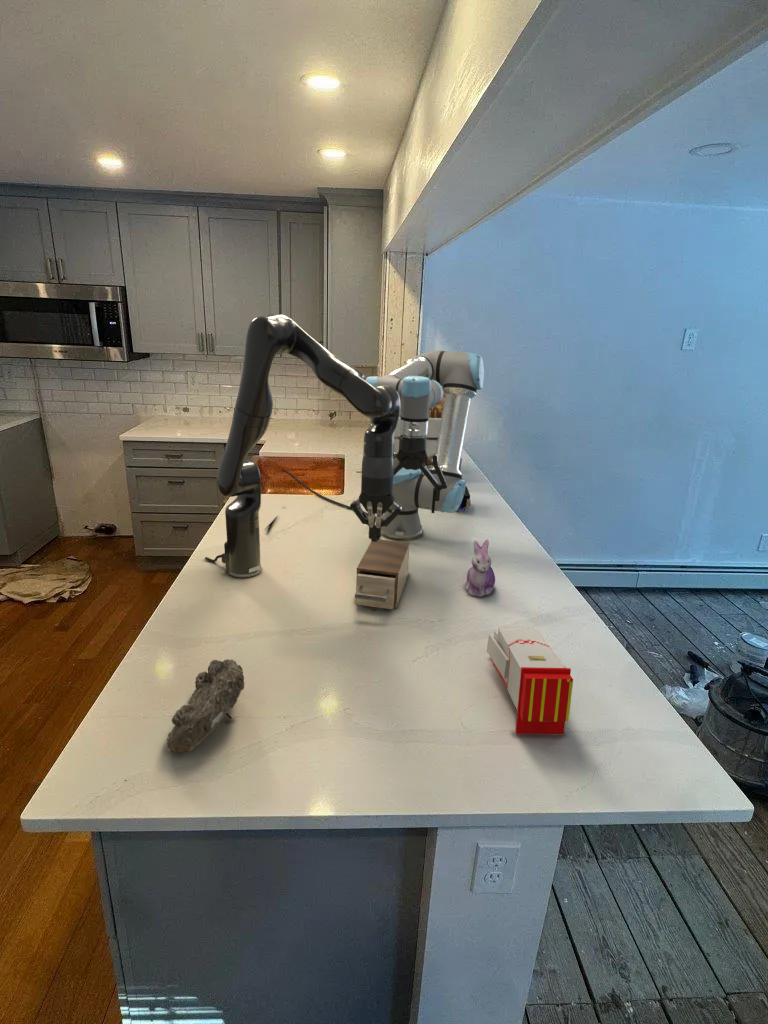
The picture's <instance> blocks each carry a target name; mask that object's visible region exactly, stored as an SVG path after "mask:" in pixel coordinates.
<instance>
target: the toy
mask: <svg viewBox="0 0 768 1024" xmlns="http://www.w3.org/2000/svg"><path fill="white" fill-rule="evenodd" d="M493 633H494V634H492V633H488V638H487V645H486V653H487V654H488V656H489V658H490V661H491V662H492V664H493V666H494V667H495V669H496V671H497V673H498V675H499V676H500V678H501V680H502V683H503V684H504V686H505V688H506V689H507V692H508V694H509V696H510V698H511V701H512V702H513V705H514V706H515V709H516V721H515V734H516V735H557V736H558V735H563V736H565V727H566V723H569V721H570V711H571V703H572V695H573V693H572V692H573V685H574V678H573V677H572V676H571V672H572V669H571V667H565V665H564V664H563V662H562V661H561V660H560V658H559V657H558V656H557V654H556V653H555V652H554V650H553V649H552V647H551V646H550V645H549V643H548V642H547V641H546V639H545V637H544V635H543V633H541V632H540V631H539V629H538V628H535V627H534V628H533V627H532V628H531V627H529V628H526V627H525V628H524V627H498V628H497V629H494V632H493Z"/></svg>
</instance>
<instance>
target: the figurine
mask: <svg viewBox="0 0 768 1024" xmlns="http://www.w3.org/2000/svg"><path fill="white" fill-rule="evenodd" d="M489 545H490V541H489V539H486V540H484V542H483V543H482V545H480V543H479V542H478V541H477V540H473V556H472V558H471V564H472V566H471V567H470V568H469V569H468V570H467V573H466V581H465V589H466V590H467V592H468V593H469V595H471V596H474V597H484V596H488V595H490V594H491V593H492V592H493V590H494V587H495V583H496V575H495V572H494V569H493V568H492V563H493V562H492V559H491V556H490V555H489Z"/></svg>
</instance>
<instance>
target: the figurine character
mask: <svg viewBox="0 0 768 1024" xmlns="http://www.w3.org/2000/svg"><path fill="white" fill-rule="evenodd" d="M471 501H472V500H471V494H470V491H469V488H468V486H467V485H466V486H465V493H464V496H463V499H462V502H461V504H460V506H459V508H458V510H457V511H456V512H460V510H463V511H464V513H466V512H467V509H470V508H471V505H472V504H471ZM466 508H467V509H466Z"/></svg>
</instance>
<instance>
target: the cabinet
mask: <svg viewBox="0 0 768 1024" xmlns="http://www.w3.org/2000/svg"><path fill="white" fill-rule="evenodd" d="M410 551H411V542H408V541H407V542H406V541H400V540H392V539H381V538H380V539H379V540H378V541H377V542H373V541H371V540H370V544H369V545H368V548H367V549H366V550H365V552H364V554H363V556H362V558H361V560H360V562H359V563H358V565H357V567H356V575H357V574H362V571H363V572H372V573H380V574H388V575H395V591H394V607H393V609H397V608H398V605H399V603H400V599H401V596H402V594H403V590H404V588H405V584H406V582H407V579H408V576H409V569H410V554H411V553H410ZM355 578H356V581H355V584H356V583H357V576H356V577H355Z"/></svg>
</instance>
